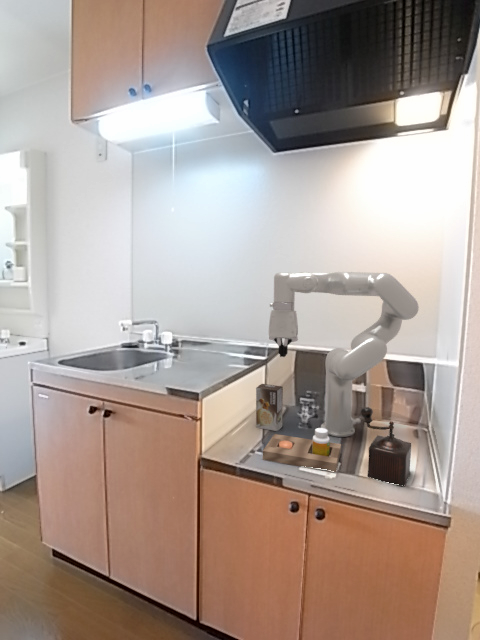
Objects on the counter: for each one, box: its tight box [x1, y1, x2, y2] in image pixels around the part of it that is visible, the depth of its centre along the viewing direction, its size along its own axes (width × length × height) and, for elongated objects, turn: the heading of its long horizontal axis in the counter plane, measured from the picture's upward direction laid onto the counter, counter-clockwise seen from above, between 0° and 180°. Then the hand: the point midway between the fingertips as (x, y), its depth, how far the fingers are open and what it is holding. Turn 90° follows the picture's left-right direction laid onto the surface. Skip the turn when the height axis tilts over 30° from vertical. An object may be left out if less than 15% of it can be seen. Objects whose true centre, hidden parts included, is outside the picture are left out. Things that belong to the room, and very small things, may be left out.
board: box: [262, 433, 342, 473], centre depth 125 cm, size 23×14×3 cm, turn 70°
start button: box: [279, 441, 292, 449], centre depth 127 cm, size 4×4×3 cm
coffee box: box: [255, 383, 284, 432], centre depth 149 cm, size 9×6×16 cm
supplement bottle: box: [311, 427, 331, 457], centre depth 123 cm, size 5×5×10 cm
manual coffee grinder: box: [360, 406, 412, 487], centre depth 115 cm, size 16×11×18 cm
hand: (283, 356), depth 142 cm, fingers closed
